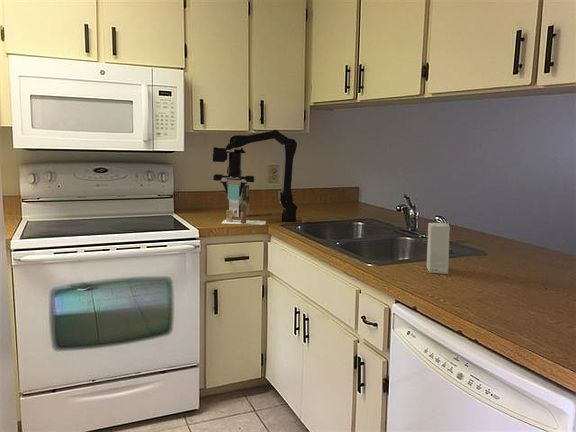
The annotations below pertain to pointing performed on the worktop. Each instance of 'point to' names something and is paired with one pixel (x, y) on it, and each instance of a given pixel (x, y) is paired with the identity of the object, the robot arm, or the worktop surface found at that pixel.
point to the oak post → (229, 215)
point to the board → (246, 222)
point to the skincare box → (438, 248)
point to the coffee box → (240, 203)
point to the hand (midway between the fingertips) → (233, 196)
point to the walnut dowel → (243, 217)
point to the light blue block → (233, 192)
